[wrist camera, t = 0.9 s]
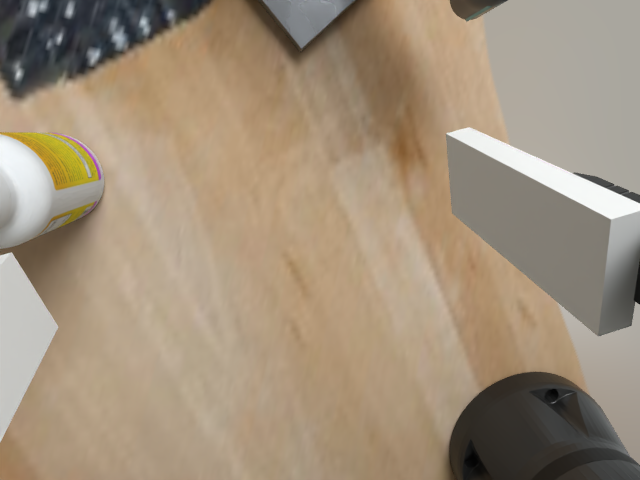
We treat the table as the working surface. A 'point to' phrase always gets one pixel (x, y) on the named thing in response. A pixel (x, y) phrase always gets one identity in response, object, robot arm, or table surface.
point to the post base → (305, 17)
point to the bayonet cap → (473, 7)
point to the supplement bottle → (44, 184)
